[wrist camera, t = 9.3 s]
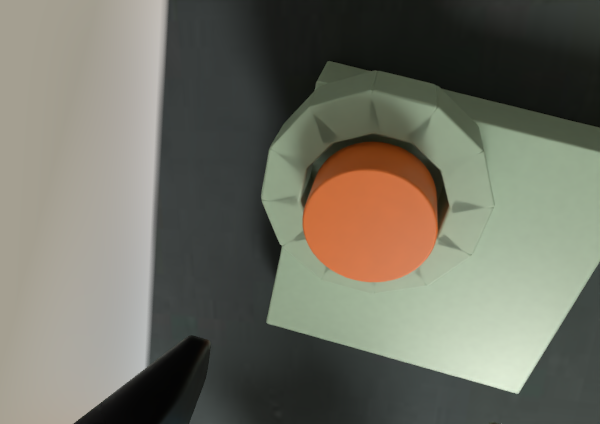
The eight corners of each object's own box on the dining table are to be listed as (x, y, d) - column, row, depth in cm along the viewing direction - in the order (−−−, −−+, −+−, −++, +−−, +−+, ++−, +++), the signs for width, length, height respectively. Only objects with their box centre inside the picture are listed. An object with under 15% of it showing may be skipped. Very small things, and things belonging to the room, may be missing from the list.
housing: (261, 283, 23) (233, 351, 20) (309, 31, 18) (282, 67, 14) (511, 353, 23) (525, 435, 19) (646, 113, 17) (701, 171, 14)
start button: (302, 231, 17) (291, 263, 16) (327, 126, 15) (316, 152, 14) (415, 261, 17) (414, 297, 15) (454, 159, 15) (457, 189, 14)
